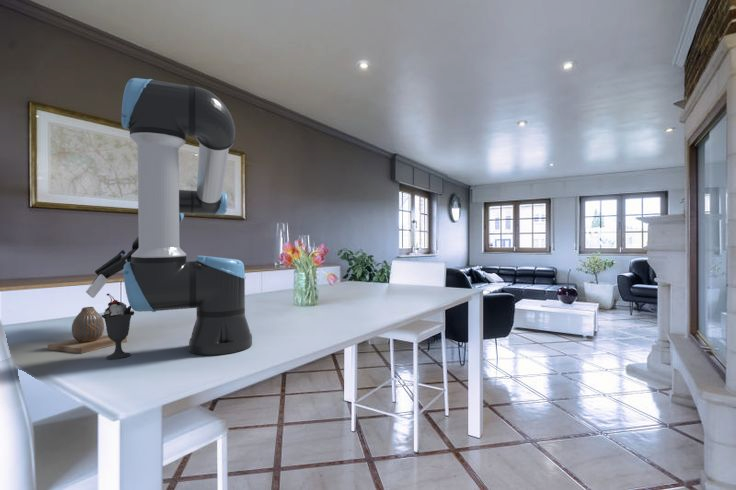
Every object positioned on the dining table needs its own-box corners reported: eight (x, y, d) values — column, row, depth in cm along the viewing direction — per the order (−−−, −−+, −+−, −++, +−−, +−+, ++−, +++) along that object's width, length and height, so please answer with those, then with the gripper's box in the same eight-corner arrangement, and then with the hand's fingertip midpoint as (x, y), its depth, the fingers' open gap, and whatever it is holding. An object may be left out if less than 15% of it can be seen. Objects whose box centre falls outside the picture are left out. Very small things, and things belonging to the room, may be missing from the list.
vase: (87, 344, 97) (86, 310, 97) (64, 343, 98) (64, 309, 98) (110, 338, 104) (110, 305, 104) (89, 336, 105) (89, 305, 105)
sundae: (96, 357, 90) (95, 293, 90) (128, 350, 95) (127, 290, 95) (107, 362, 86) (106, 295, 86) (139, 355, 91) (138, 292, 91)
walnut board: (126, 341, 105) (126, 337, 105) (81, 353, 93) (81, 348, 93) (94, 338, 108) (94, 334, 108) (47, 349, 97) (47, 344, 97)
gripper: (190, 249, 122) (154, 304, 107) (125, 250, 127) (82, 302, 113) (178, 232, 116) (139, 287, 102) (110, 234, 122) (64, 286, 107)
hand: (109, 295), depth 107 cm, fingers open, 13 cm apart
